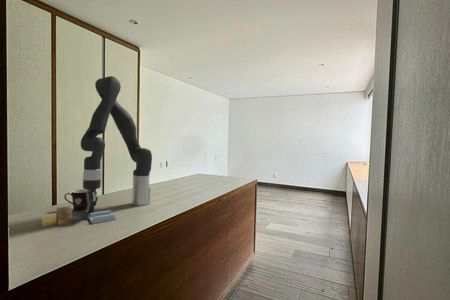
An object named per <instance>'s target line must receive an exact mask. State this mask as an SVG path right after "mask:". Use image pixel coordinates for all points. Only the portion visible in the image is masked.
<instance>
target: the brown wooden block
mask: <svg viewBox="0 0 450 300" xmlns="http://www.w3.org/2000/svg"><path fill="white" fill-rule="evenodd" d="M55 209H56V210H55V211H56V212H55V213H58V224H57V225H58V226H61V225H68V224H72V223H73V221H72V214H73V210H72V208H71V207H70V206H69V205H68V206H60V207H55Z"/></svg>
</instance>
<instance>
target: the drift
mask: <svg viewBox="0 0 450 300" xmlns="http://www.w3.org/2000/svg"><path fill="white" fill-rule="evenodd" d="M88 217H89V214H88V210H85V211H77V212H75V213H73V212H72V222H77V221H80V220H85V219H88Z"/></svg>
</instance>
